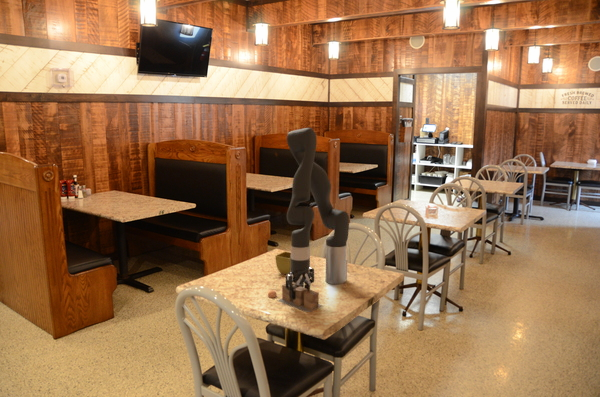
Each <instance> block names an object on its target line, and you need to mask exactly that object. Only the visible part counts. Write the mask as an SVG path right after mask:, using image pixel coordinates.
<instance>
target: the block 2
mask: <svg viewBox="0 0 600 397" xmlns="http://www.w3.org/2000/svg"><path fill="white" fill-rule="evenodd" d="M319 294H320V292H318V291H315V290H312V289H310V291H307V292H305V293H304V308H307V309H310V310H313V309H315V310H317V309H316V308H318V306H319V304H320V303H319V298H320V297H319V296H320V295H319ZM318 309H319V308H318ZM313 311H314V310H313Z"/></svg>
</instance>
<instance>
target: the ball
mask: <svg viewBox="0 0 600 397" xmlns="http://www.w3.org/2000/svg"><path fill="white" fill-rule="evenodd" d="M276 297H277V292H276V290H274V289H273V290H269V291H268V293H267V298H272V299H274V298H276Z"/></svg>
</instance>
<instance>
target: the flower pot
mask: <svg viewBox="0 0 600 397" xmlns="http://www.w3.org/2000/svg"><path fill="white" fill-rule="evenodd" d="M274 258H275V265H276V268H277V270H278V271H279V273H280V274H284V275H287V274H288V273H289V272H290V271H291V270H290V268H291V251H283V252H281V253H279V254H278V253H277V254H276V255H275V257H274Z"/></svg>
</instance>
